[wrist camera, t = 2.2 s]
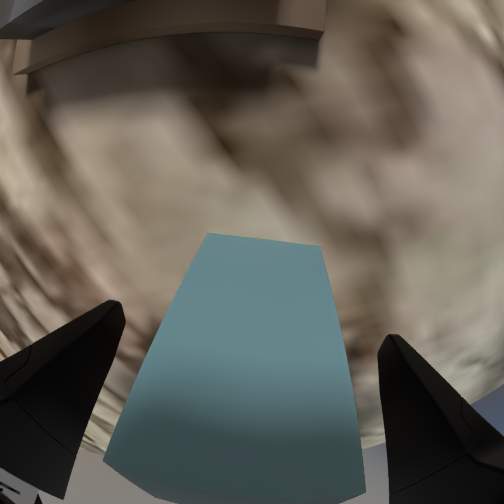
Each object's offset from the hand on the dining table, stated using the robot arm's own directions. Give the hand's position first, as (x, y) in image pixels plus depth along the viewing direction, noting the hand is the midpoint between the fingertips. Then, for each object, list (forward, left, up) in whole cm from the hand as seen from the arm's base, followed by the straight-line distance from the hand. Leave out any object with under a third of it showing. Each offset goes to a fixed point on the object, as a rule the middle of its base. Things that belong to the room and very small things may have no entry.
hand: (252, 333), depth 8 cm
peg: (0, 0, -3) cm, 3 cm away
